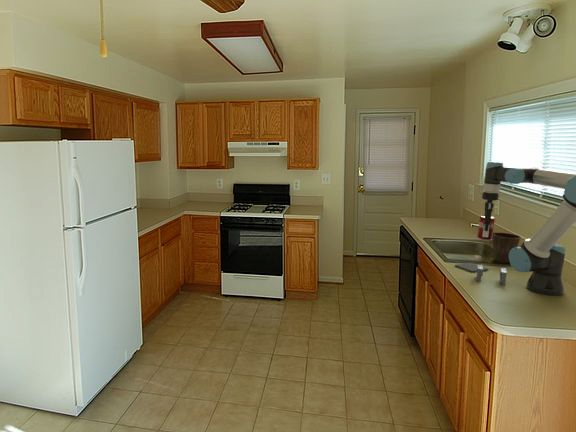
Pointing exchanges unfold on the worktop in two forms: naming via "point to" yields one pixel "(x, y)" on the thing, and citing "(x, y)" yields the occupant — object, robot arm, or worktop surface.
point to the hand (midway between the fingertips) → (485, 235)
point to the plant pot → (504, 245)
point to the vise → (502, 274)
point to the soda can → (480, 228)
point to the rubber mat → (470, 267)
